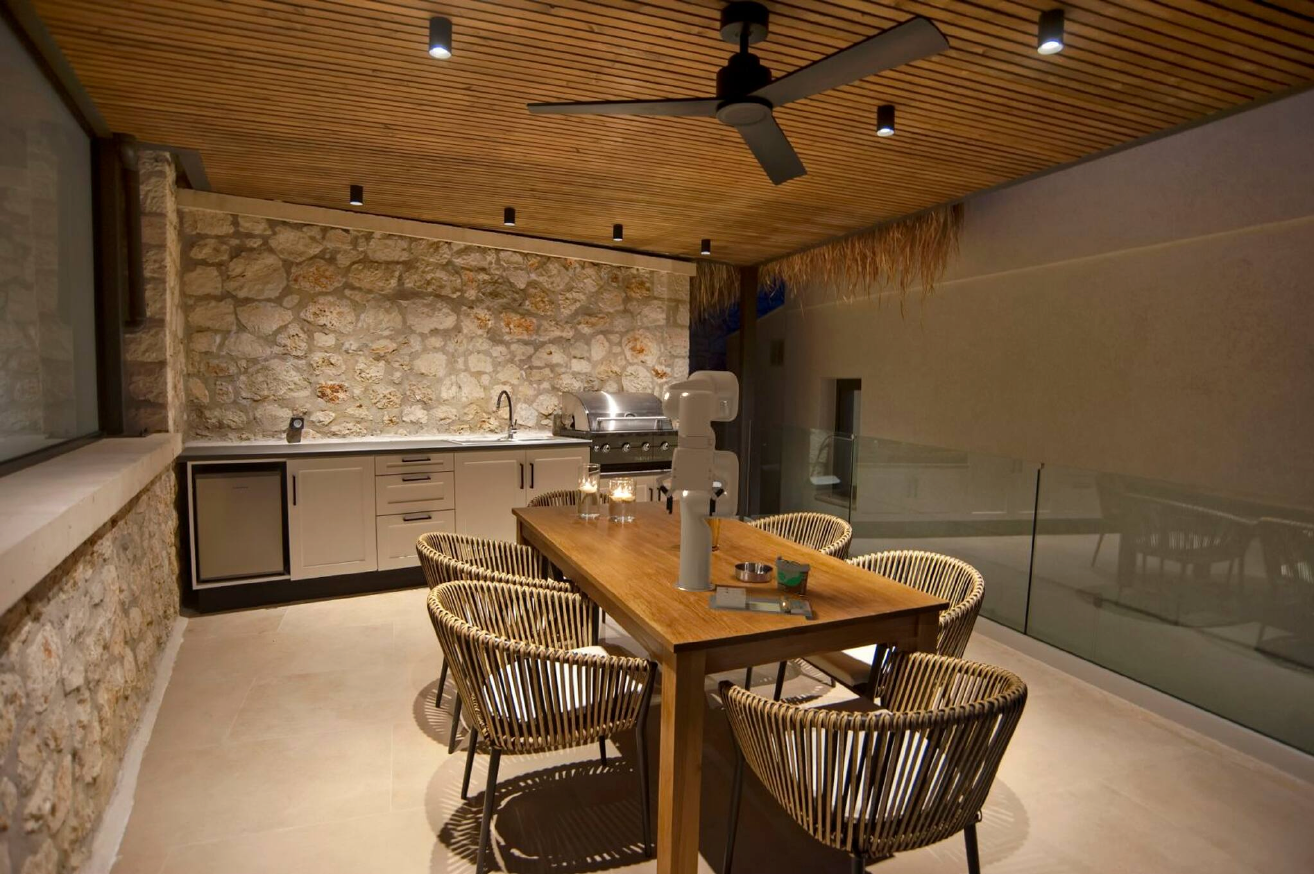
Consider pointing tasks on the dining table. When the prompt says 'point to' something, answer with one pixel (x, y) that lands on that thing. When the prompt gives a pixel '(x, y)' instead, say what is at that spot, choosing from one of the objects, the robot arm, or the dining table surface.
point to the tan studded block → (731, 598)
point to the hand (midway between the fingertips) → (690, 514)
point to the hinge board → (758, 606)
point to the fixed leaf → (795, 606)
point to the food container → (792, 576)
